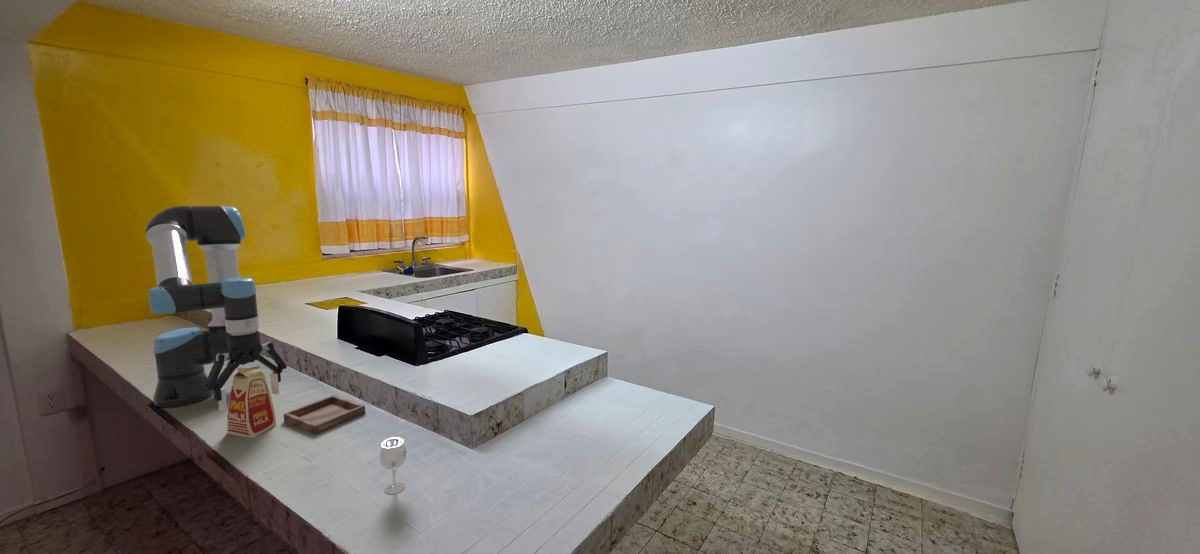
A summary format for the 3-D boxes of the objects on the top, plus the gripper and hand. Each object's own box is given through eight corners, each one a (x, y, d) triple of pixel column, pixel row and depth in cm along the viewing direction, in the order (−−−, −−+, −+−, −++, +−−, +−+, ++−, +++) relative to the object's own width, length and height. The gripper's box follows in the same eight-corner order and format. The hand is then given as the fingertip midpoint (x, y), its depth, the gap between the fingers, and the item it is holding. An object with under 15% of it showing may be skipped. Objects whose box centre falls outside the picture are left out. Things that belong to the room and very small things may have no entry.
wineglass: (386, 481, 113) (384, 436, 111) (410, 480, 113) (408, 436, 111) (377, 496, 107) (375, 449, 105) (402, 495, 107) (400, 448, 106)
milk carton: (251, 438, 130) (244, 372, 127) (225, 434, 132) (217, 368, 129) (279, 423, 139) (273, 361, 136) (254, 419, 141) (248, 358, 138)
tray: (284, 421, 141) (283, 413, 140) (334, 401, 155) (333, 394, 154) (315, 434, 133) (315, 426, 133) (365, 412, 148) (364, 405, 147)
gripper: (196, 345, 118) (205, 421, 121) (296, 324, 140) (301, 389, 143) (182, 340, 121) (191, 415, 125) (282, 320, 143) (287, 384, 147)
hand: (250, 401), depth 134 cm, fingers open, 13 cm apart
